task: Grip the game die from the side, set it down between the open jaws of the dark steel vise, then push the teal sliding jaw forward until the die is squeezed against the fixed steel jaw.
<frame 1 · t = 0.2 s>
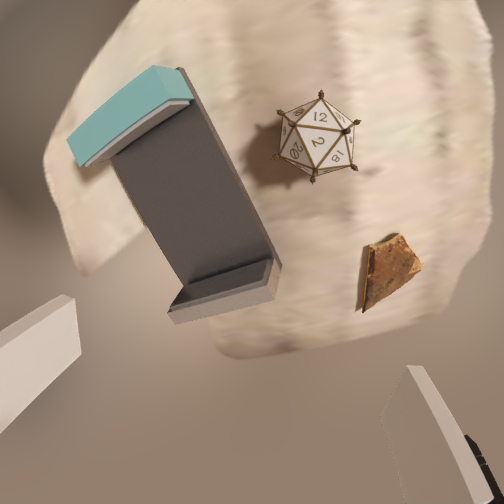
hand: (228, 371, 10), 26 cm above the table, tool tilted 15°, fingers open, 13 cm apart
vise bed: (190, 199, 36), on the table
game die: (316, 135, 30), on the table
shard: (392, 269, 36), on the table
sliding jaw: (126, 118, 28), point 5 cm above the table, slide at 0.0 cm
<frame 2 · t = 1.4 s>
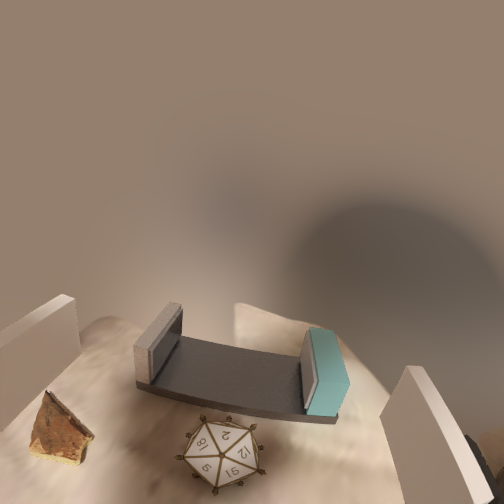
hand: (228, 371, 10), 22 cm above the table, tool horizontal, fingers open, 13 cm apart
vise bed: (232, 379, 41), on the table
game die: (219, 472, 24), on the table
shard: (51, 437, 22), on the table
sliding jaw: (320, 368, 39), point 5 cm above the table, slide at 0.0 cm
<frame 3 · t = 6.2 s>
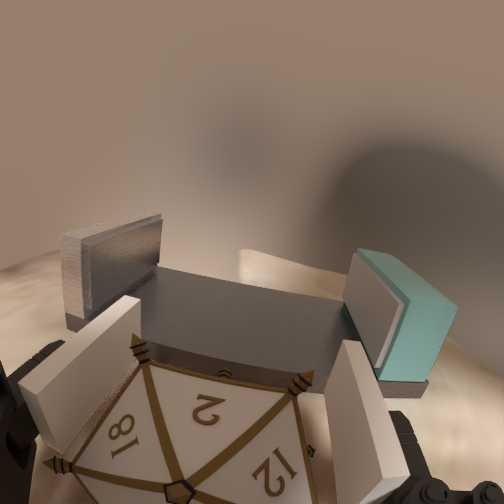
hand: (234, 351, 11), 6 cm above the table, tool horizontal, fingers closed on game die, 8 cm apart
vise bed: (236, 328, 25), on the table
sliding jaw: (386, 303, 23), point 5 cm above the table, slide at 0.0 cm
when the fingers open (9 cm above the table, at t = 11.5 s): game die drops 1 cm, resting on vise bed.
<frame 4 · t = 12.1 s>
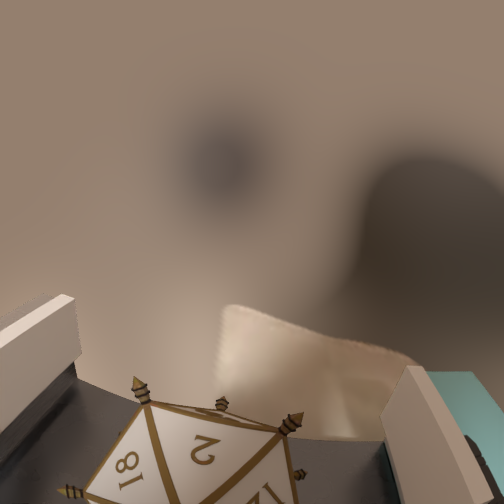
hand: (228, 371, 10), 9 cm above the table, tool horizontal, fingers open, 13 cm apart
sliding jaw: (463, 490, 7), point 5 cm above the table, slide at 0.0 cm
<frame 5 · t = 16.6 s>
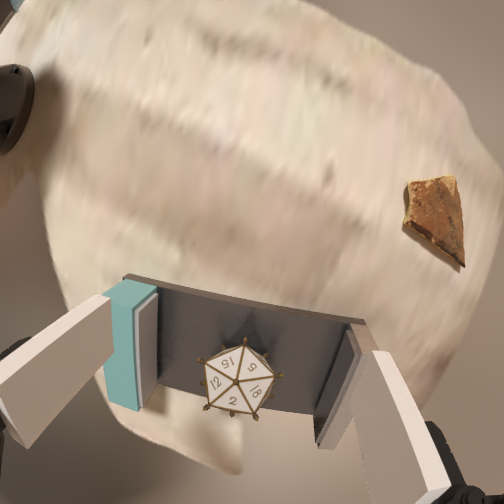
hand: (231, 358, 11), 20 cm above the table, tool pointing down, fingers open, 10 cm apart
vise bed: (244, 353, 33), on the table
game die: (243, 358, 32), point 1 cm above the table, touching vise bed
shard: (441, 210, 27), on the table
sliding jaw: (131, 348, 29), point 5 cm above the table, slide at 0.0 cm
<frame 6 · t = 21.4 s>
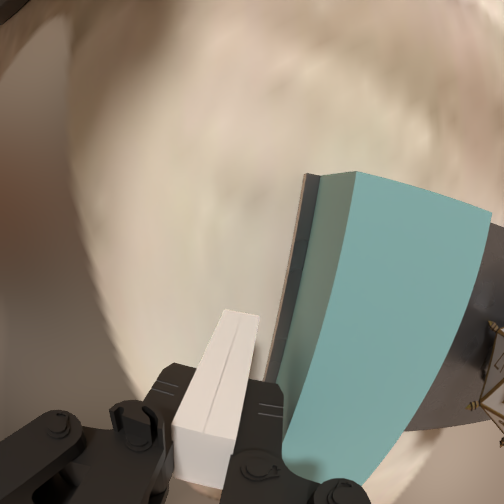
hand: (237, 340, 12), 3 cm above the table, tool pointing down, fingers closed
vise bed: (490, 336, 14), on the table
game die: (501, 341, 13), point 1 cm above the table, touching vise bed
sliding jaw: (345, 372, 10), point 5 cm above the table, slide at 0.1 cm, touching gripper
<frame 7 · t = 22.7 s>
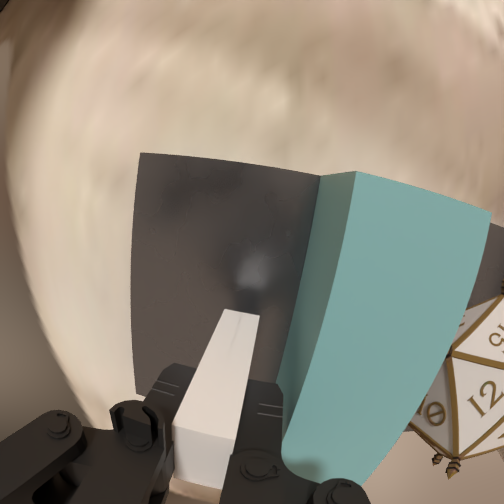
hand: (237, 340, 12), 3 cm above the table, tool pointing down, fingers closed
vise bed: (406, 330, 14), on the table
game die: (441, 340, 13), point 1 cm above the table, touching sliding jaw
sliding jaw: (345, 372, 10), point 5 cm above the table, slide at 7.6 cm, touching game die, gripper
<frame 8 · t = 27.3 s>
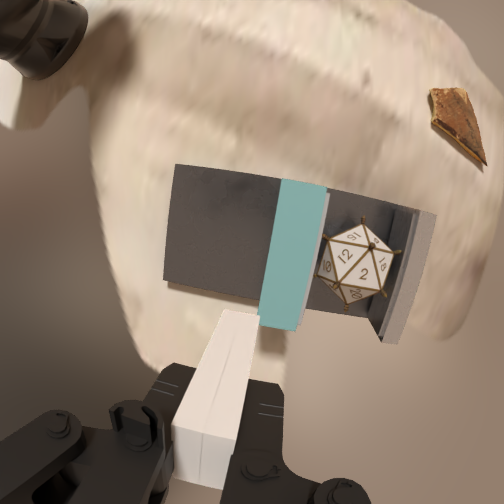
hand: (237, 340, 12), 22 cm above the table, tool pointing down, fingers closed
vise bed: (296, 244, 33), on the table
game die: (347, 254, 32), point 1 cm above the table, touching vise bed
shard: (459, 118, 28), on the table
sliding jaw: (291, 252, 29), point 5 cm above the table, slide at 11.6 cm
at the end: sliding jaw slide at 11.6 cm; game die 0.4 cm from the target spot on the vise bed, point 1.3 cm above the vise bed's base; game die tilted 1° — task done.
